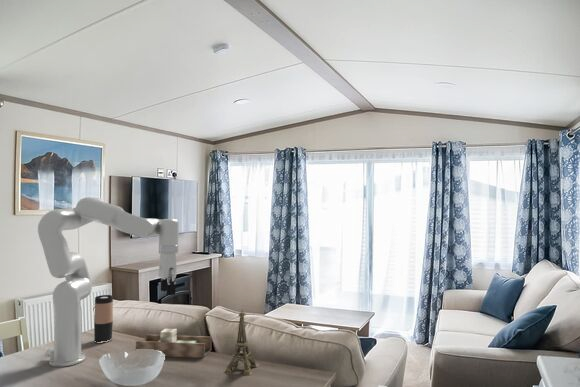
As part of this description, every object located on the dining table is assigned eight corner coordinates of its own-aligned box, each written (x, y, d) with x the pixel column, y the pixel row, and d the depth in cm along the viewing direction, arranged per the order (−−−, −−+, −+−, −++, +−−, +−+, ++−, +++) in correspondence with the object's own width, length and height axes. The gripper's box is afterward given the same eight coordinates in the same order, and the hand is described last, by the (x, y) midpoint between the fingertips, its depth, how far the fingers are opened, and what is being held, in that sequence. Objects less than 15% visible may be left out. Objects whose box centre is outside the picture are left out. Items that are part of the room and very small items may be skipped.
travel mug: (90, 343, 181) (91, 298, 182) (100, 337, 189) (101, 294, 190) (105, 344, 180) (106, 298, 181) (115, 338, 188) (116, 295, 189)
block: (160, 344, 168) (160, 332, 168) (165, 340, 173) (165, 328, 173) (171, 344, 167) (172, 332, 168) (176, 340, 172) (176, 328, 172)
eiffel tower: (259, 364, 156) (259, 299, 157) (250, 375, 146) (250, 305, 147) (233, 362, 159) (233, 298, 160) (223, 372, 148) (223, 304, 150)
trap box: (135, 355, 166) (135, 341, 167) (146, 347, 176) (146, 334, 176) (204, 357, 163) (204, 344, 164) (211, 349, 173) (211, 336, 173)
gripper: (154, 248, 168) (153, 289, 168) (164, 252, 154) (163, 297, 153) (172, 247, 172) (171, 288, 171) (183, 251, 157) (183, 295, 157)
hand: (167, 292), depth 162 cm, fingers open, 9 cm apart
